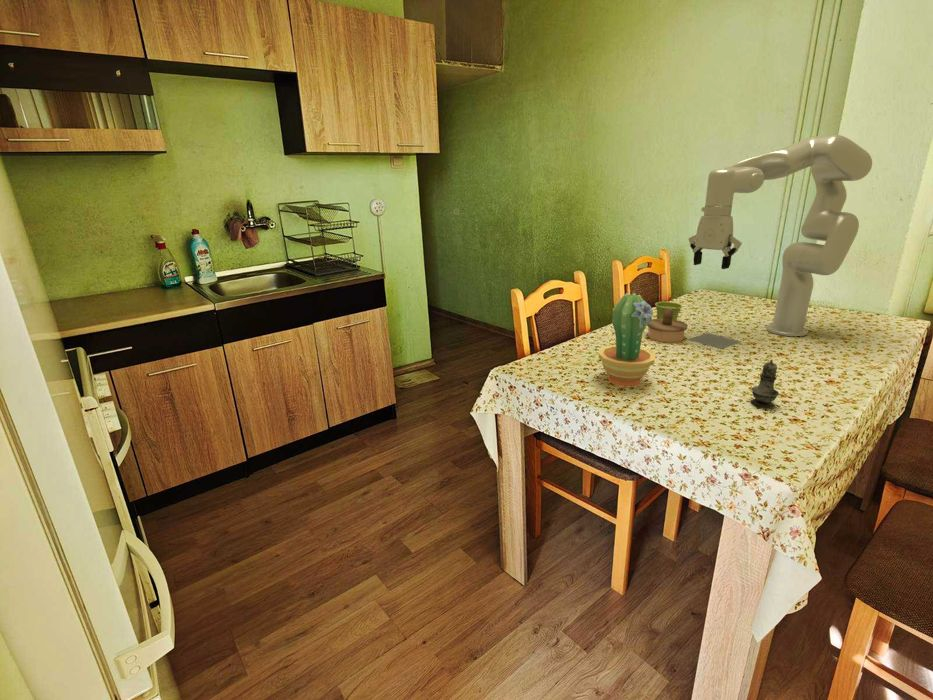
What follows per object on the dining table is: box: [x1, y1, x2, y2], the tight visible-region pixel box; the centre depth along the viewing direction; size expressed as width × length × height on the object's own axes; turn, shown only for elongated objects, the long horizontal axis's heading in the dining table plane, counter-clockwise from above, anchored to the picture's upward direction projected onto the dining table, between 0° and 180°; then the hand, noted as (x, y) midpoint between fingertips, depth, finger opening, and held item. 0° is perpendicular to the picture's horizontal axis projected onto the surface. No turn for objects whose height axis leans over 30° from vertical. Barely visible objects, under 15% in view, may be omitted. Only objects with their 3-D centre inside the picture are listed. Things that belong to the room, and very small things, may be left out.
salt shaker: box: [750, 359, 780, 410], centre depth 119 cm, size 6×6×12 cm
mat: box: [687, 332, 742, 350], centre depth 164 cm, size 12×12×1 cm
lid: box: [646, 309, 688, 332], centre depth 166 cm, size 13×13×6 cm
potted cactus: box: [598, 292, 656, 388], centre depth 133 cm, size 15×15×25 cm
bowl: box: [647, 327, 685, 343], centre depth 168 cm, size 11×11×5 cm
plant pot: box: [654, 301, 683, 320], centre depth 181 cm, size 9×9×9 cm
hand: (710, 266), depth 156 cm, fingers open, 9 cm apart
